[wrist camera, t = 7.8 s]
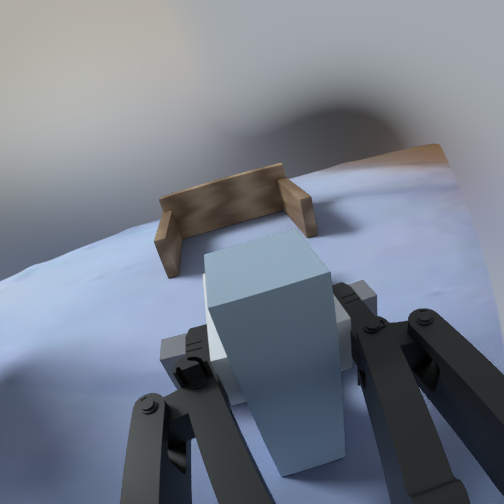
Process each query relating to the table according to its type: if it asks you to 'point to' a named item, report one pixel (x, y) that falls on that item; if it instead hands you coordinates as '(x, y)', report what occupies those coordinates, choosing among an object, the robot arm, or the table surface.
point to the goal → (229, 208)
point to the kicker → (280, 344)
